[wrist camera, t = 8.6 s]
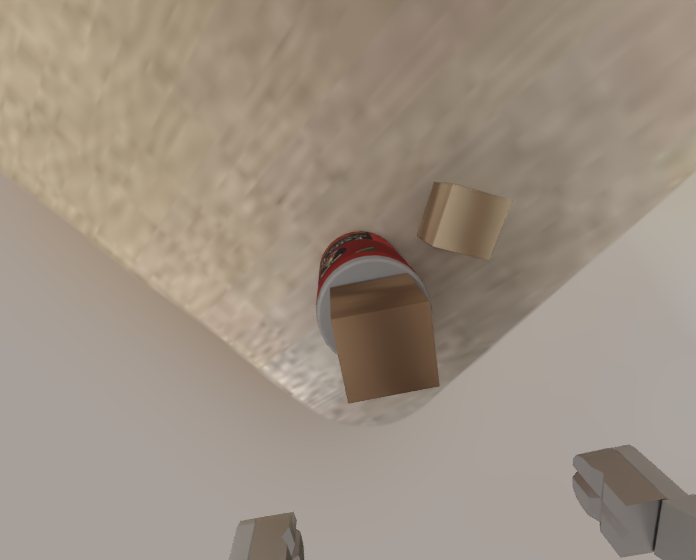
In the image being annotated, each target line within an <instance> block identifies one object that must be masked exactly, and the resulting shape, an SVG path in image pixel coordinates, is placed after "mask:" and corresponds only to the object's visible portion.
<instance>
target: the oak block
mask: <svg viewBox="0 0 696 560" xmlns="http://www.w3.org/2000/svg"><path fill="white" fill-rule="evenodd" d="M512 201H513V200H509V199H506V198H502V197H498V196H495V195H491V194H488V193H484V192H481V191H477V190H474V189H470V188H466V187H463V186H459V185H456V184H450V183H438V182H434V184H433V187H432V191H431V194H430V197H429V200H428V203H427V206H426V209H425V213H424V216H423V219H422V222H421V225H420V228H419V231H418V235H417V236H418V237H420V238H421V239H423V240H424V241H425V242H427V243H428V244H430V245H431V246H433V247H437V248H441V249H445V250H449V251H453V252H457V253H461V254H465V255H468V256H472V257H476V258H480V259H484V260H488V261H489V260H490V258H491V255H492V253H493V250H494V247H495V245H496V242H497V240H498V237H499V234H500V232H501V229H502V227H503V224H504V221H505V219H506V216H507V214H508V211H509V208H510V206H511V203H512Z"/></svg>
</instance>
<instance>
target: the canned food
mask: <svg viewBox="0 0 696 560" xmlns="http://www.w3.org/2000/svg"><path fill="white" fill-rule="evenodd" d="M405 273H408V274H409V276H410V277H411V278H412V279H413V281H414V282H415V283H416V284H417V286H418V287H419V288H420V290H421V291H422V292H423V293H424V295H425V296H426V297H427V298H428V300H429V301H430V297H429V295H428V293H427V290H426V288H425V286H424V284H423V282H422V281H421V279H420V278H419V277H418V275H417V274H416V273H415V272H414V270H413V269H412V268H411V267H410V266H409V265H408V264H407V262H406V261H405V260H404V259H403V258H402V257H401V256H400V255H399V254H398V253H397V251H396V250H395V249H394V248H393V247H392V246H391V245H390V244H389V243H388V242H387V241H386V240H384V239H383V238H381V237H379V236H377V235H375V234H372V233H368V232H352V233H348V234H345V235H343V236H341V237H339V238H337V239H336V240H335V241H333V242H332V243H331V244H330V245H329V246H328V248H327V249H326V251H325V252H324V254H323V256H322V259H321V263H320V271H319V282H318V292H317V303H316V305H317V307H316V312H317V321H318V325H319V328H320V331H321V334H322V336H323V338H324V340H325V342H326V343H327V345H328V346H329V347H330V348H331V349H332V350H333V352H335V353H336V354H337V355H338V352H337V348H336V343H335V338H334V333H333V329H332V324H331V315H330V288H331V287H336V286H341V285H347V284H352V283H357V282H363V281H368V280H373V279H378V278H384V277H389V276H394V275H400V274H405ZM430 308H431V317H432V307H431V302H430Z"/></svg>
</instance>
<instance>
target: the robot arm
mask: <svg viewBox="0 0 696 560" xmlns="http://www.w3.org/2000/svg"><path fill="white" fill-rule="evenodd" d="M573 466H574V467H575V468H576V470H577V472H576V473H575V475H574V476H573V489H574V492H575V494H576V497H577V499H578V501H579V503H580V505H581V506H582V508H583V509H584V510H585V512H586V513H587V514H588V515H589V516H591V517H592V518H594V519H596V520H597V521H599V522H600V531H601V533H602V534H603V535H604V537H605V538H606V539H607V540H608V542H609V543H610V544H611V546H612V547H613V548H614V550H615V551H616V552H617V554H618V555H619V556H620V557H627V556H633V555H639V554H645V553H651V552H654V554H655V555H656V556H658V557H659V558H660V559H662V560H696V495H695V494H692V495H688V494H686V493H685V492H684V491H683V490H682V489H681V488H680V487H679V486H677V485H676V484H675V483H674V482H673V481H672V480H671V479H670V478H668V477H667V476H666V475H665V474H664V473H663V472H662V471H661V470H659V469H658V468H657V467H656V466H655V465H654V464H653V463H652V462H650V461H649V460H648V459H647V458H646V457H645V456H643V454H641V453H640V452H639V451H638V450H637V449H636V448H634V447H633V446H631V445H623V446H619V447H614V448H610V449H609V448H606V449H602V450H597V451H592V452H588V453H584V454H579V455H576V456H575V457H574V458H573ZM296 521H297V520H296V517H295V515H294V512H291V513H284V514H278V515H272V516H266V517H260V518H255V519H250V520H244V521H240V523H239V525H238V526H237V529H236V533H235V537H234V541H233V545H232V549H231V553H230V557H229V560H304V547H303V541H302V536H301V533H300V531H299V530H297V529H296Z"/></svg>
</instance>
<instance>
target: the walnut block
mask: <svg viewBox="0 0 696 560" xmlns="http://www.w3.org/2000/svg"><path fill="white" fill-rule="evenodd" d="M330 315H331V324H332V329H333V333H334V338H335V343H336V348H337V352H338V357H339V362H340V366H341V371H342V376H343V380H344V385H345V390H346V395H347V399H348V403H353V402H359V401H364V400H369V399H374V398H380V397H385V396H390V395H396V394H401V393H406V392H411V391H417V390H422V389H427V388H432V387H438V386H439V378H438V369H437V360H436V352H435V343H434V334H433V325H432V317H431V308H430V301H429V300H428V298H427V297H426V296H425V295H424V293H423V292H422V291H421V290H420V288H419V287H418V286H417V284H416V283H415V282H414V281H413V279H412V278H411V277H410V276H409V274H408V273H405V274H400V275H394V276H389V277H384V278H378V279H373V280H368V281H363V282H357V283H352V284H347V285H341V286H336V287H331V288H330Z"/></svg>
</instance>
